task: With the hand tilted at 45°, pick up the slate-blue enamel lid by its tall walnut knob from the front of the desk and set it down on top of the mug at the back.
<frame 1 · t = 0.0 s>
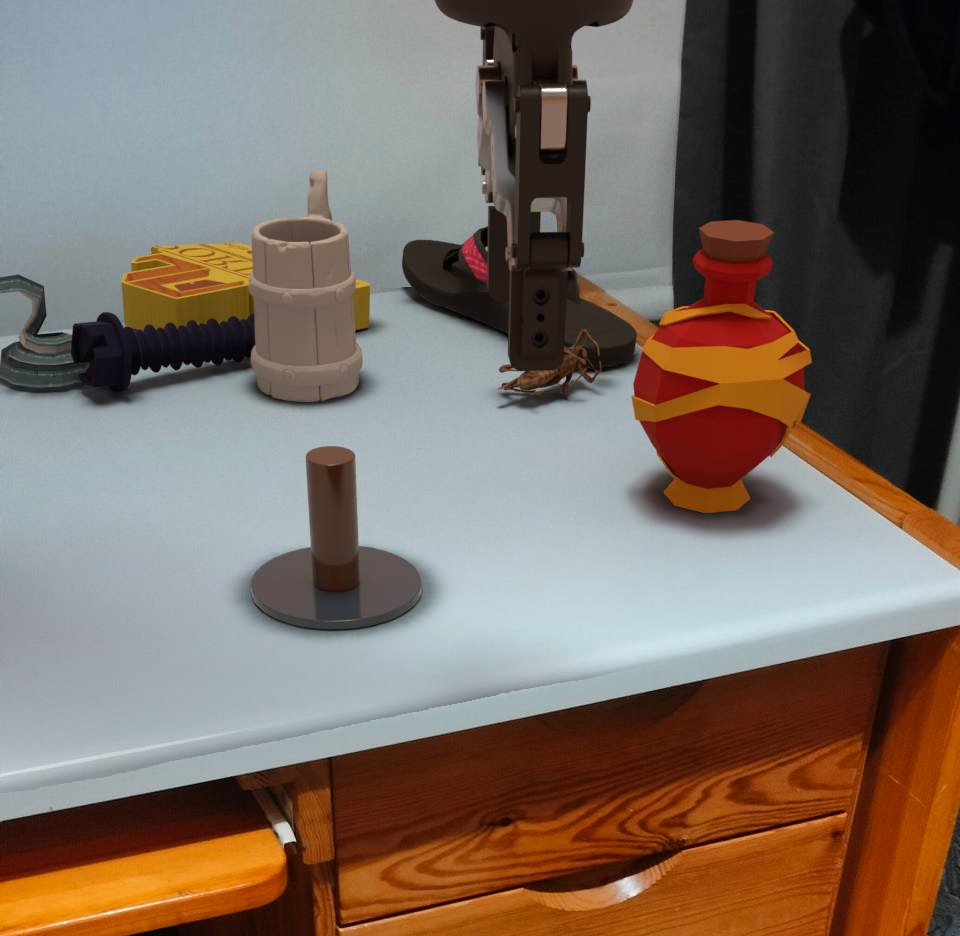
hand: (523, 332, 69), 18 cm above the table, tool pointing down, fingers open, 8 cm apart
lid: (336, 589, 90), on the table
insect: (577, 371, 110), point 2 cm above the table
potion bottle: (708, 498, 101), on the table
stylized snake: (72, 372, 115), on the table, touching decorative sign
mug: (314, 376, 115), on the table
sandal: (519, 320, 125), on the table
decorative sign: (283, 275, 127), point 1 cm above the table, touching stylized snake
screw: (215, 381, 114), on the table
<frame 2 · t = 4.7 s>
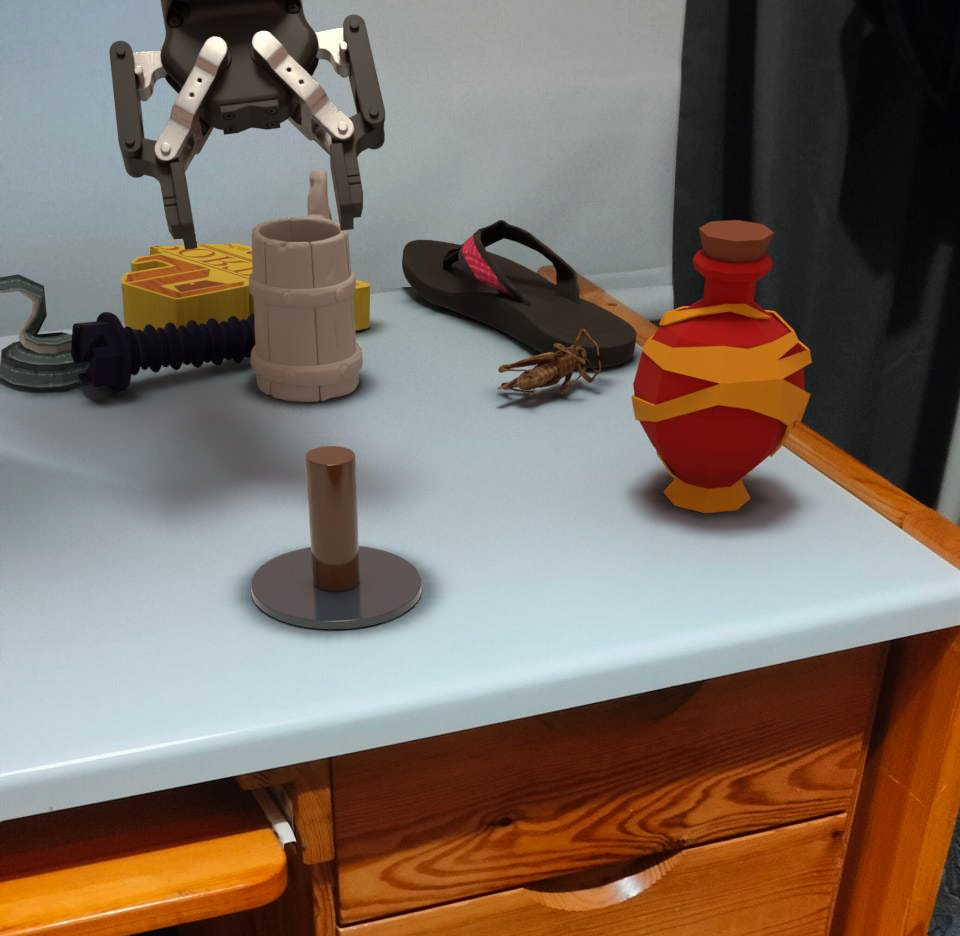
hand: (269, 232, 88), 15 cm above the table, tool tilted 45°, fingers open, 8 cm apart
nothing on the table moved.
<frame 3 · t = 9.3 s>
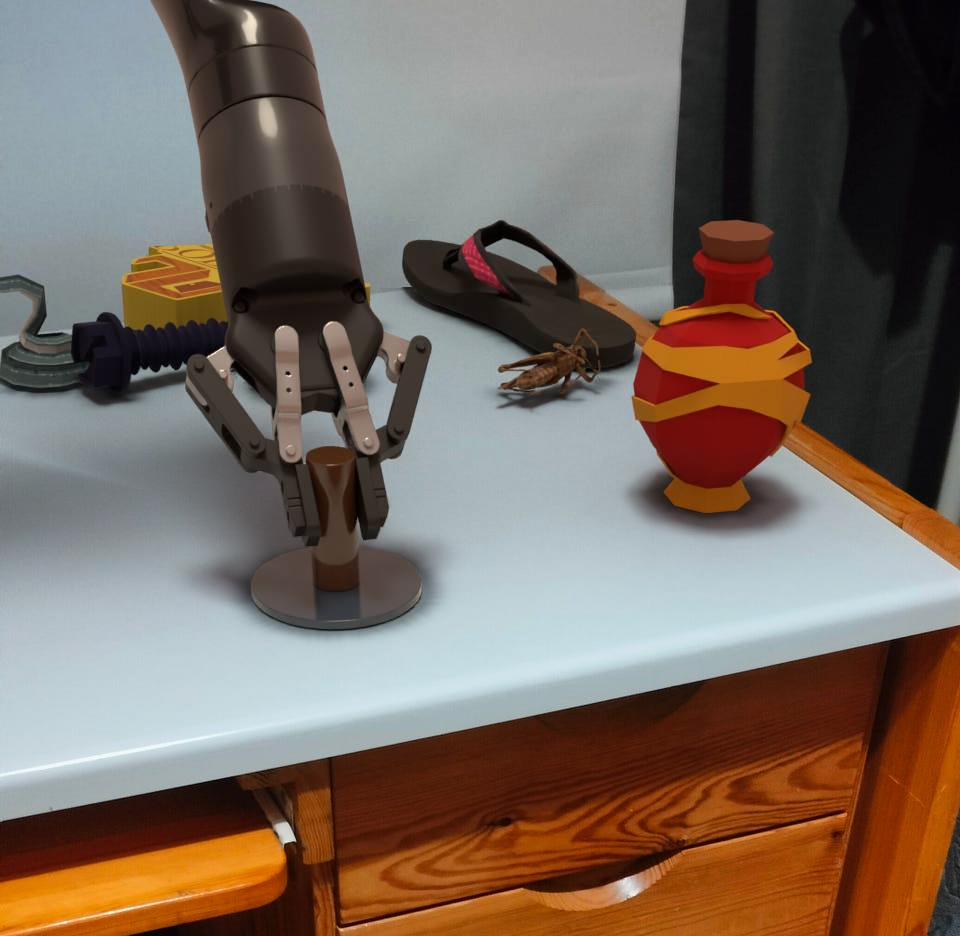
hand: (342, 536, 86), 4 cm above the table, tool tilted 45°, fingers closed on lid, 2 cm apart
lid: (336, 589, 90), on the table, touching gripper
everything else where it was.
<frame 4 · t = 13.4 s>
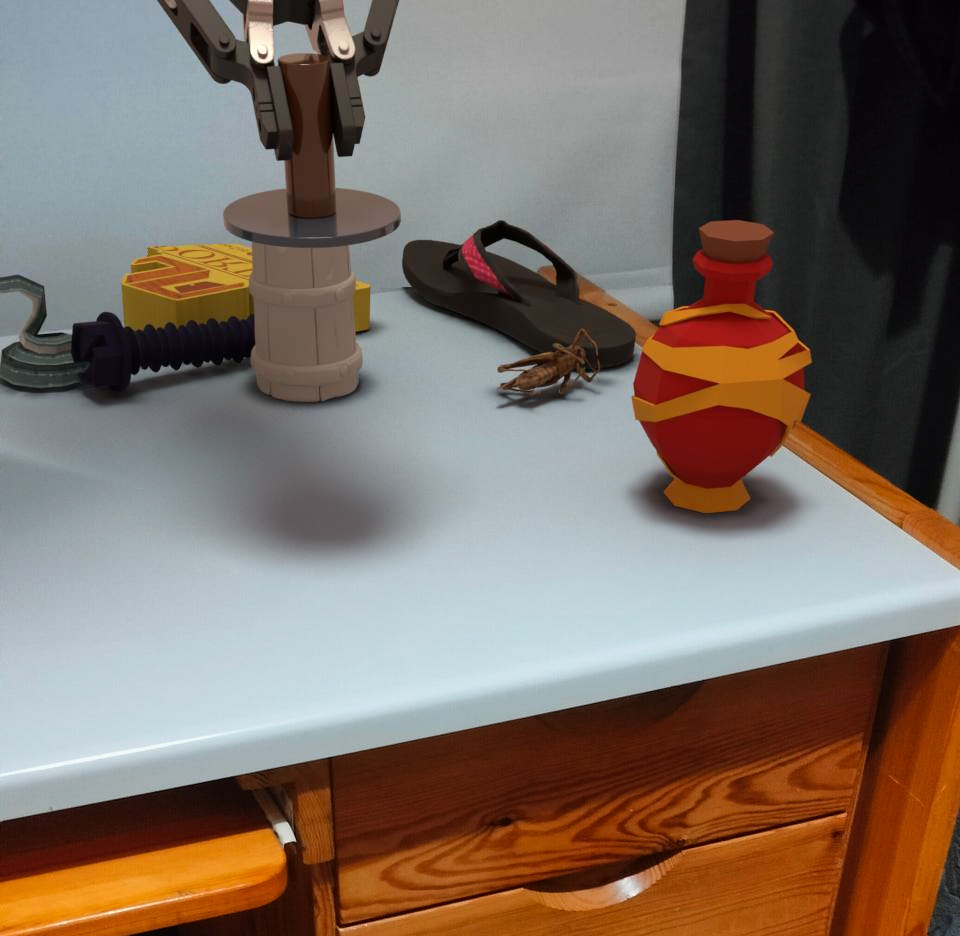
hand: (317, 147, 83), 20 cm above the table, tool tilted 45°, fingers closed on lid, 2 cm apart
lid: (312, 221, 87), point 16 cm above the table, touching gripper
everything else where it was.
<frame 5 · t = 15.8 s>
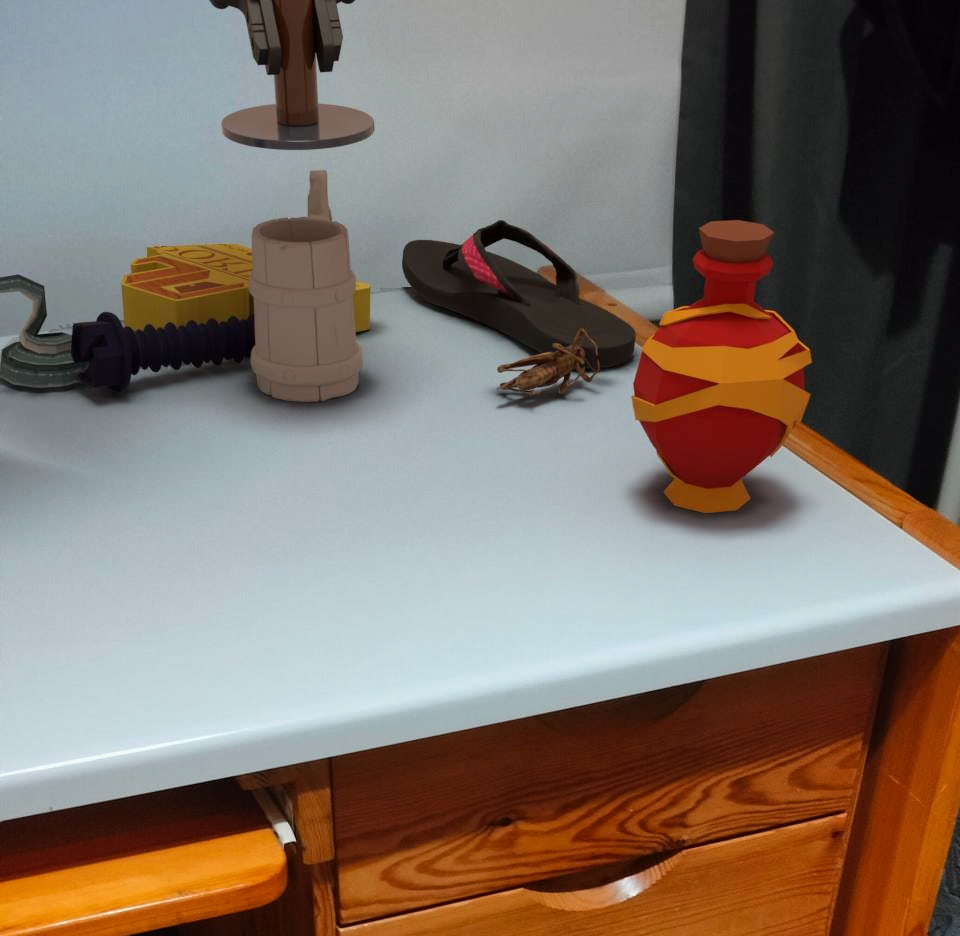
hand: (301, 63, 97), 20 cm above the table, tool tilted 45°, fingers closed on lid, 2 cm apart
lid: (298, 130, 101), point 16 cm above the table, touching gripper
everything else where it was.
when the fingers open (16 cm above the table, at t = 17.8 s): lid stays where it is, resting on mug.
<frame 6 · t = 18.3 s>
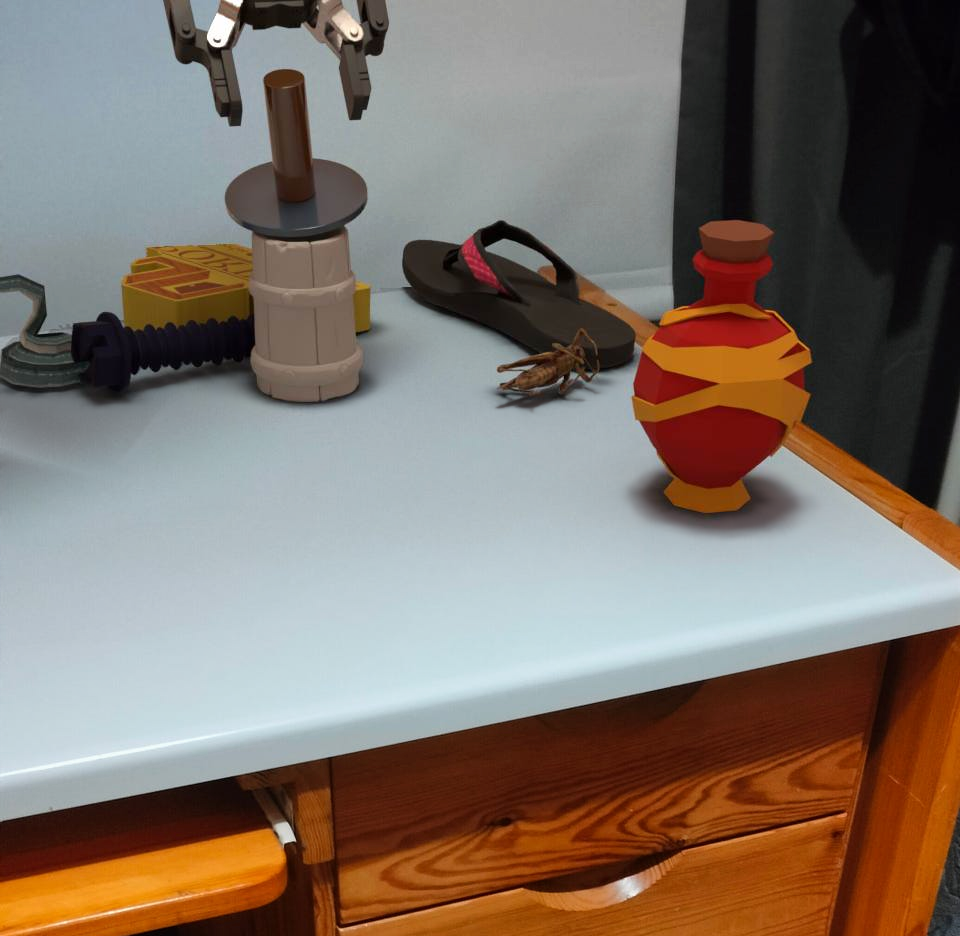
hand: (297, 115, 103), 16 cm above the table, tool tilted 45°, fingers open, 7 cm apart
lid: (296, 200, 108), point 11 cm above the table, tilted 13°, touching mug
mug: (314, 376, 115), on the table, touching lid
everything else where it was.
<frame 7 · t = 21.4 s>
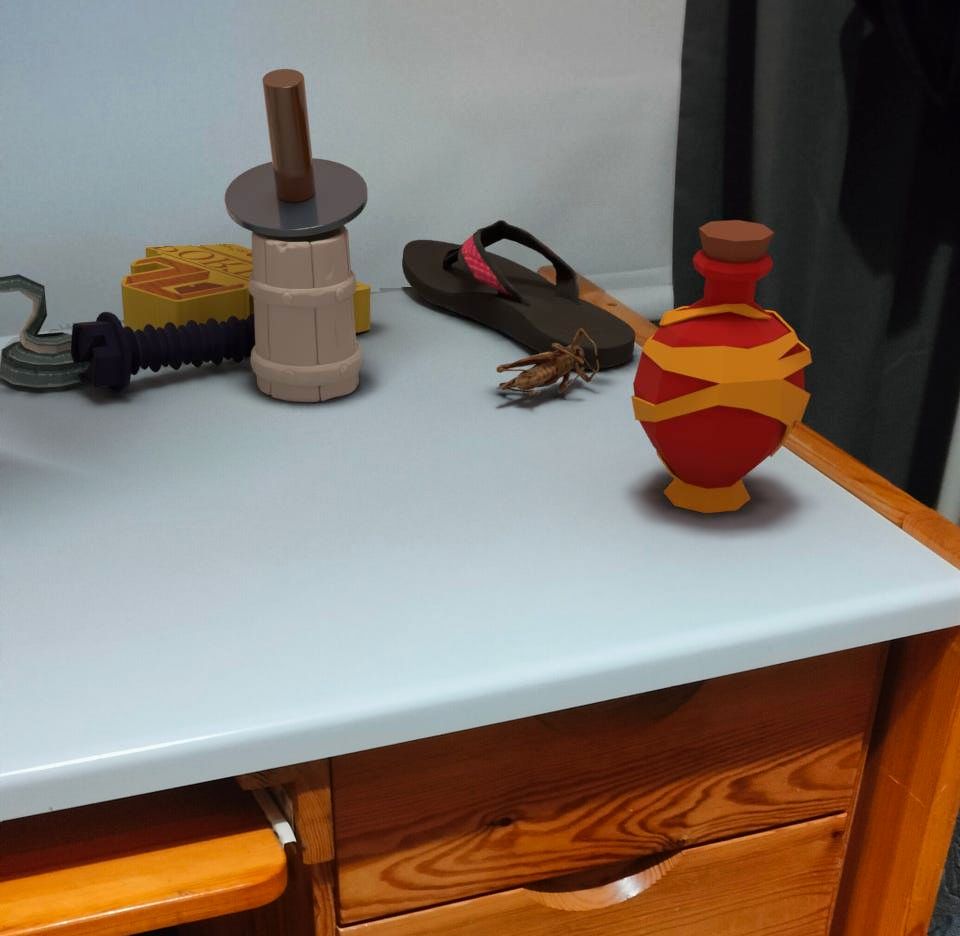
nothing on the table moved.
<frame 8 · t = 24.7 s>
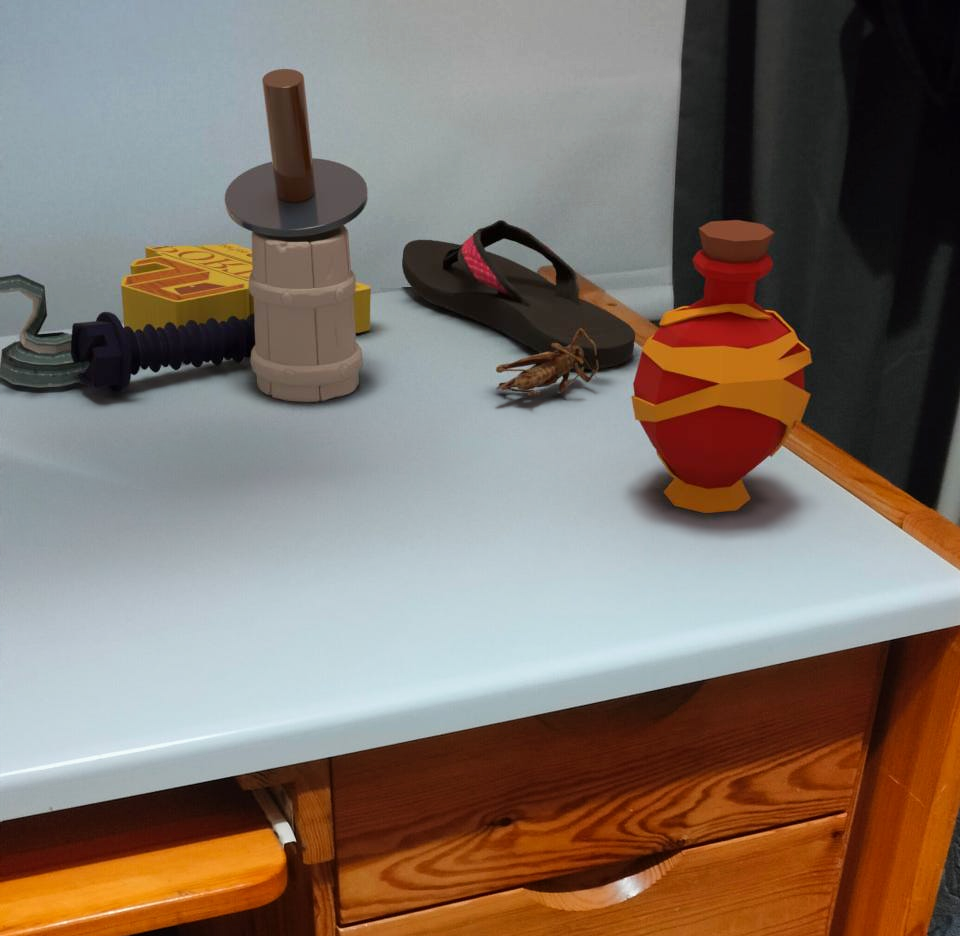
nothing on the table moved.
at the end: lid 0.5 cm off-centre on the mug, point 11.3 cm above the mug's base; lid tilted 13°; the gripper is holding nothing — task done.
